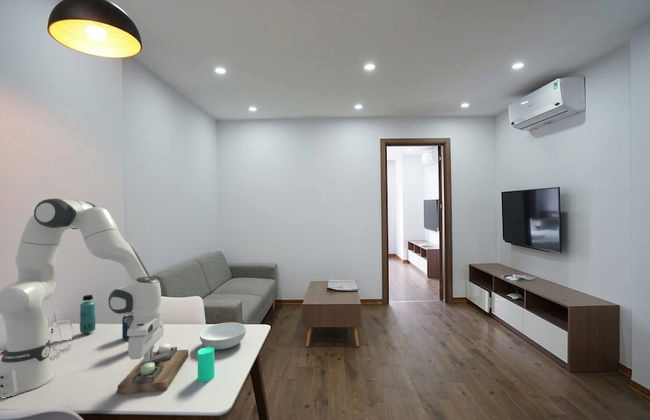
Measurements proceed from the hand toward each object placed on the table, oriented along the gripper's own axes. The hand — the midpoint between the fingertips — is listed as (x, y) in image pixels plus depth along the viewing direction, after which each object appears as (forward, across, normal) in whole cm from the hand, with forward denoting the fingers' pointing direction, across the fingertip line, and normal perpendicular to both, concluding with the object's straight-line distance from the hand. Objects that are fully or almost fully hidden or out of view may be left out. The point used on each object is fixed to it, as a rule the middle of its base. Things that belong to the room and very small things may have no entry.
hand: (148, 359), depth 110 cm
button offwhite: (+5, -16, 0) cm, 17 cm away
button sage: (+5, 0, 0) cm, 5 cm away
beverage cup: (+10, -31, -18) cm, 37 cm away
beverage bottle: (+10, -54, -52) cm, 76 cm away
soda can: (+10, -45, -27) cm, 53 cm away
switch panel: (+9, -8, 0) cm, 12 cm away
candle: (+10, -2, +20) cm, 22 cm away
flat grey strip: (+4, -8, 0) cm, 9 cm away
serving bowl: (+10, -30, +21) cm, 38 cm away
